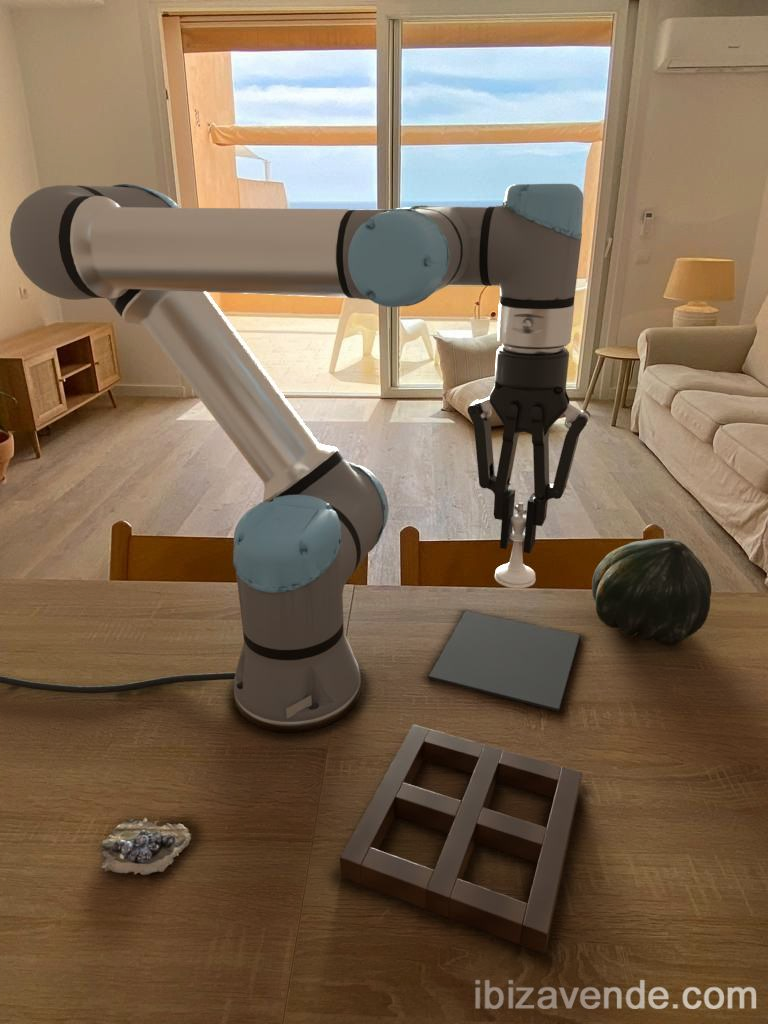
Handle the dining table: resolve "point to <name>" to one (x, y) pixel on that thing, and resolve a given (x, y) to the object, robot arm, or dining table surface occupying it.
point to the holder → (468, 835)
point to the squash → (653, 590)
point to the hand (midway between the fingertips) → (517, 545)
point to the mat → (508, 660)
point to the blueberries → (143, 846)
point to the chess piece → (516, 556)
